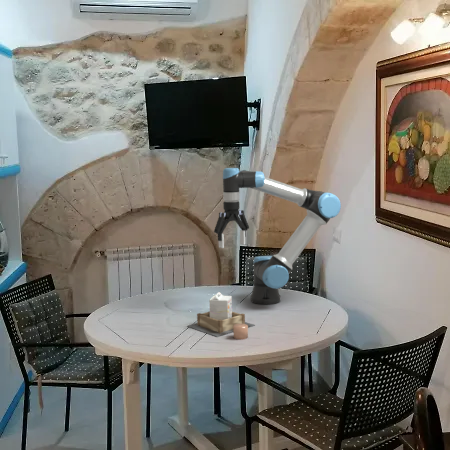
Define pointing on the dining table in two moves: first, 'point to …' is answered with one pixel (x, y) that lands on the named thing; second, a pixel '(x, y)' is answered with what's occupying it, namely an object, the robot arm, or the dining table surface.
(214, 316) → the ink box
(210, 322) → the crate
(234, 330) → the brown egg
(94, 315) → the dining table surface
